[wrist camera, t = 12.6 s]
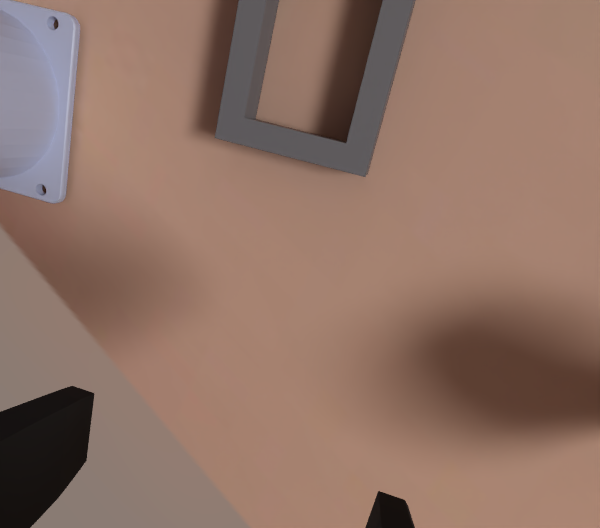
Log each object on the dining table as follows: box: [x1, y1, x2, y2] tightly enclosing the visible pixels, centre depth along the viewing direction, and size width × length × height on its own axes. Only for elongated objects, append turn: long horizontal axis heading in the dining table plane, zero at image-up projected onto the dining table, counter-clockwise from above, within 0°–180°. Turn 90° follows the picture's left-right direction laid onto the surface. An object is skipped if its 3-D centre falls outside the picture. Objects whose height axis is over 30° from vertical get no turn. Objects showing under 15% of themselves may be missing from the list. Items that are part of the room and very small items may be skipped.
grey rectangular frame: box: [215, 0, 415, 177], centre depth 17 cm, size 6×8×2 cm
